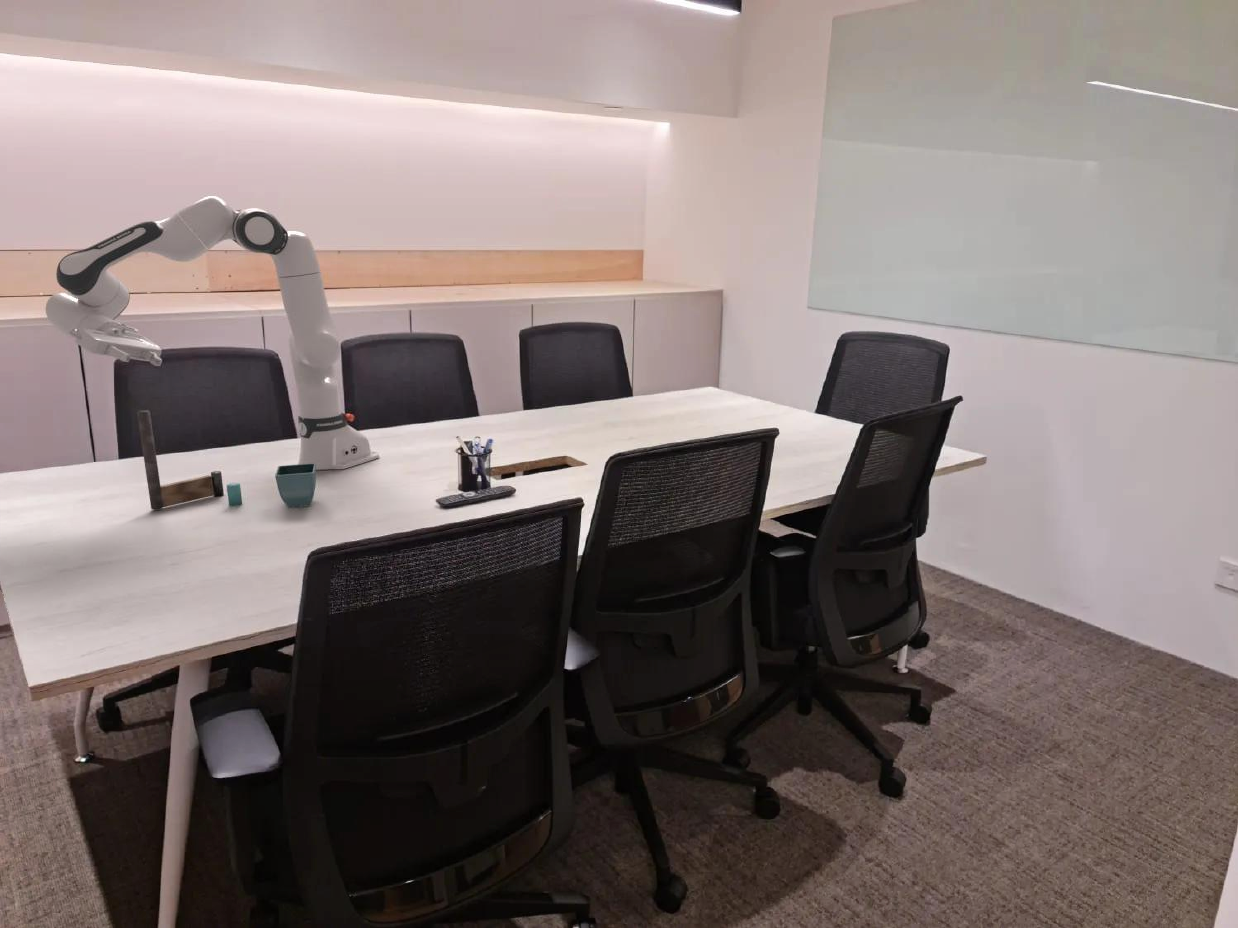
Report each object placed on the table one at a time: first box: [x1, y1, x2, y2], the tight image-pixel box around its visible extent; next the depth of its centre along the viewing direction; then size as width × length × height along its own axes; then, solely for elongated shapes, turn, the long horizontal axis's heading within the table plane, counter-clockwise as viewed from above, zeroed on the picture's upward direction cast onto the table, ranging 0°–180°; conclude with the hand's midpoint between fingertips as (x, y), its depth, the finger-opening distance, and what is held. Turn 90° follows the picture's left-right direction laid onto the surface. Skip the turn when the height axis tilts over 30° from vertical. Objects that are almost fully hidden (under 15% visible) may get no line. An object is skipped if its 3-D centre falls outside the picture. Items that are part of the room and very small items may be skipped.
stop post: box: [226, 482, 243, 507], centre depth 215 cm, size 3×3×5 cm
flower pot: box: [274, 463, 317, 508], centre depth 215 cm, size 9×9×9 cm
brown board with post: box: [136, 409, 214, 511], centre depth 213 cm, size 15×3×24 cm, turn 140°
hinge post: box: [210, 470, 225, 498], centre depth 222 cm, size 2×2×6 cm
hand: (143, 361), depth 211 cm, fingers open, 8 cm apart
